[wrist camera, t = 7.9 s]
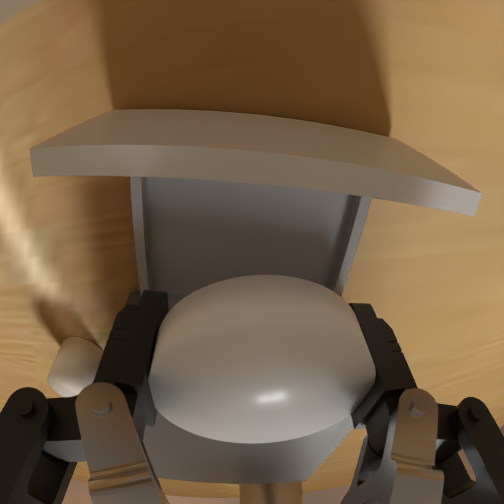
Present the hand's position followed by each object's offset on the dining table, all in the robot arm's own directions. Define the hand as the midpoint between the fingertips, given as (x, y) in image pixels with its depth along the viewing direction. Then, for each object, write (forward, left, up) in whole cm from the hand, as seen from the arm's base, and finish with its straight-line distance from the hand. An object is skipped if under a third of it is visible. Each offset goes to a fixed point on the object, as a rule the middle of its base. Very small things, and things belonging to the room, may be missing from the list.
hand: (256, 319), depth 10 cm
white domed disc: (0, 0, +2) cm, 2 cm away
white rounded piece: (-12, +12, -7) cm, 18 cm away
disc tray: (-1, 0, -6) cm, 6 cm away
